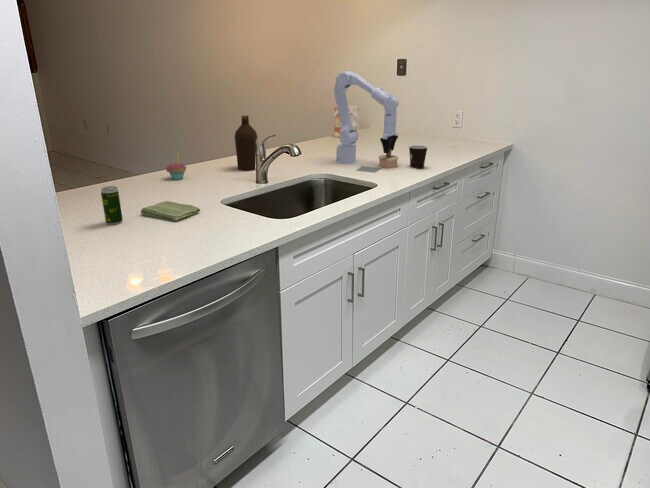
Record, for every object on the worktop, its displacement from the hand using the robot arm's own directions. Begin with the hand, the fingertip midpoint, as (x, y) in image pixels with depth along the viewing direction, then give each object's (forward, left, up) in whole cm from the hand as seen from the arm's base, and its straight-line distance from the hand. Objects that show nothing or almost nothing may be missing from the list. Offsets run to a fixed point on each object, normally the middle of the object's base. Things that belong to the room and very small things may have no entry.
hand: (388, 151), depth 248 cm
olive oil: (-60, -33, -8) cm, 69 cm away
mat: (-6, -11, -7) cm, 15 cm away
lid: (0, 0, -3) cm, 3 cm away
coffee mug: (+13, +6, -8) cm, 16 cm away
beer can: (-57, -120, -8) cm, 133 cm away
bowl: (0, 0, -7) cm, 7 cm away
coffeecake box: (-52, +72, -8) cm, 89 cm away
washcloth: (-46, -104, -8) cm, 114 cm away
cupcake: (-78, -63, -8) cm, 101 cm away
